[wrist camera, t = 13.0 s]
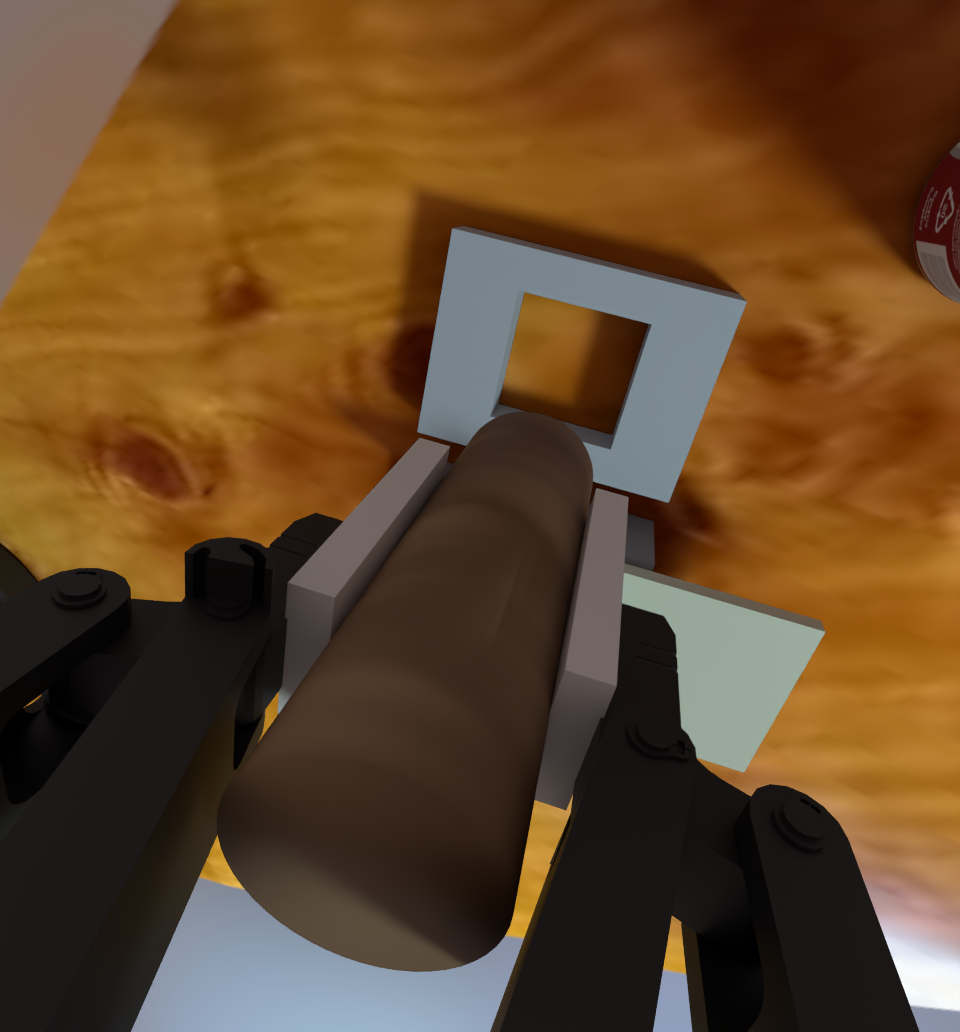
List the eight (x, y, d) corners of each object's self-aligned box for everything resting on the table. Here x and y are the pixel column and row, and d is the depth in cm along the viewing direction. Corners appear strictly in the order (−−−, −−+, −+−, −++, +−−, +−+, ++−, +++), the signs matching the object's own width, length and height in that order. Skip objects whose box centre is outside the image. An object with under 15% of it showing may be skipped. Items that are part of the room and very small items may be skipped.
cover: (523, 690, 33) (509, 746, 30) (568, 546, 29) (559, 593, 26) (741, 760, 32) (753, 825, 29) (820, 620, 28) (844, 679, 25)
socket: (429, 419, 33) (417, 432, 31) (464, 225, 29) (452, 227, 27) (667, 485, 32) (668, 502, 30) (740, 294, 27) (746, 301, 26)
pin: (452, 513, 19) (214, 909, 9) (476, 396, 17) (217, 710, 7) (572, 548, 19) (478, 1006, 8) (610, 431, 17) (549, 822, 7)
